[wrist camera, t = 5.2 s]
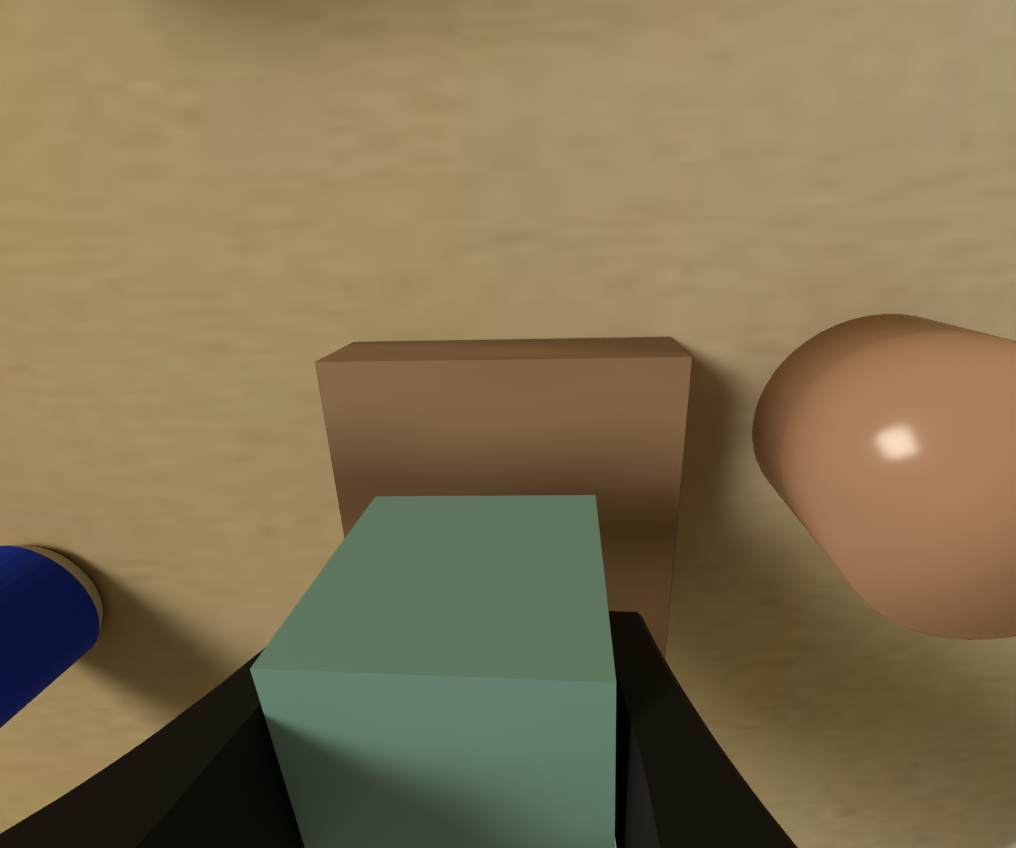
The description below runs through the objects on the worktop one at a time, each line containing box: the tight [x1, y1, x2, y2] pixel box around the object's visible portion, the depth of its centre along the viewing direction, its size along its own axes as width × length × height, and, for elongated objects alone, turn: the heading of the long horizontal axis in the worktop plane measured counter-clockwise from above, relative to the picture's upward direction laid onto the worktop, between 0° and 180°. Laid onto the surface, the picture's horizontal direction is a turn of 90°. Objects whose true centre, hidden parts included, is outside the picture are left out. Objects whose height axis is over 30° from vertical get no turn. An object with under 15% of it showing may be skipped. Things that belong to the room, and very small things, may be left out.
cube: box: [250, 495, 616, 848], centre depth 9 cm, size 4×4×4 cm
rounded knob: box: [752, 314, 1016, 640], centre depth 12 cm, size 6×6×5 cm
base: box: [315, 337, 692, 659], centre depth 15 cm, size 9×9×2 cm
